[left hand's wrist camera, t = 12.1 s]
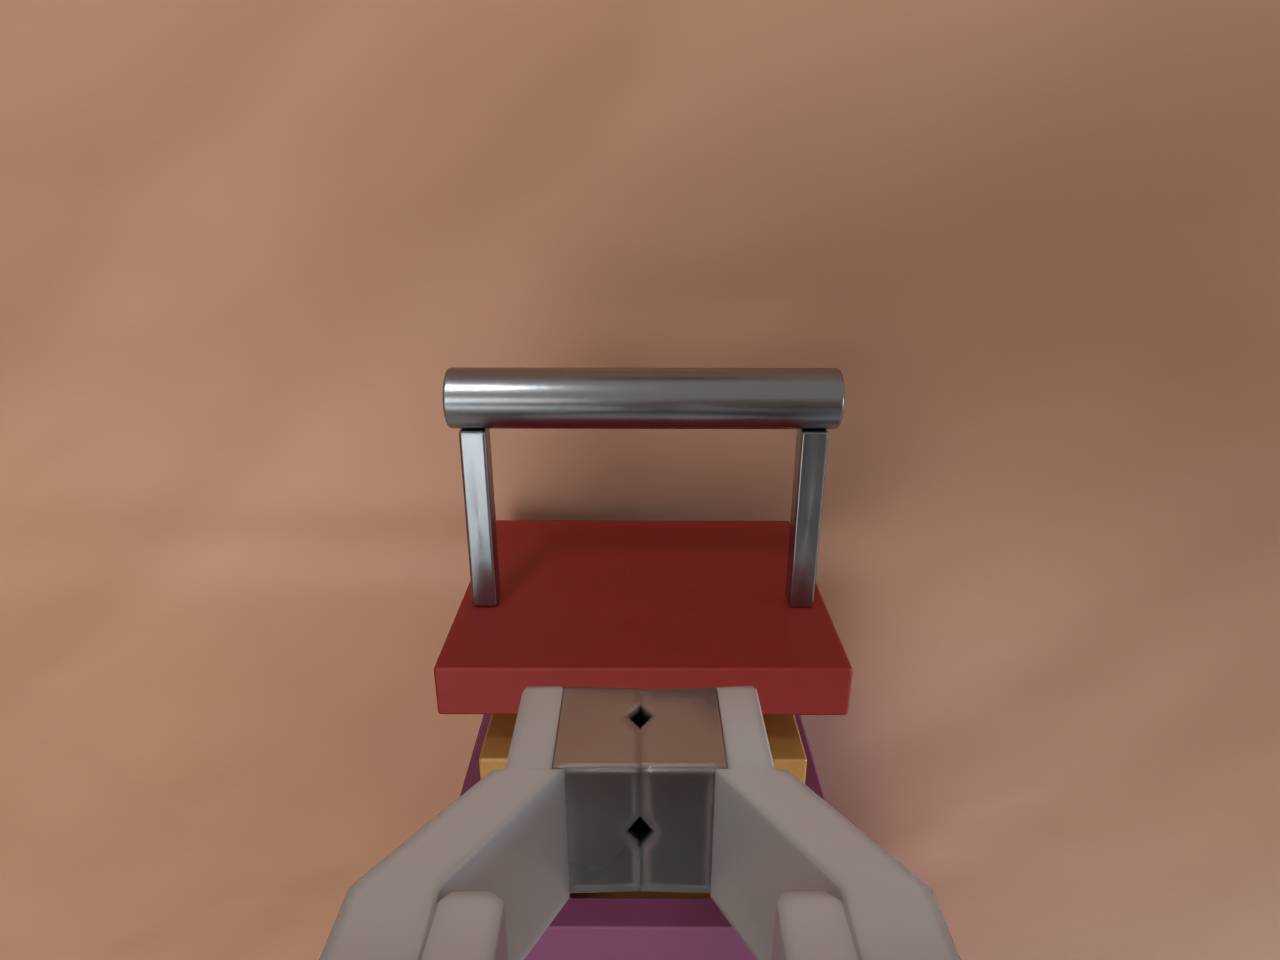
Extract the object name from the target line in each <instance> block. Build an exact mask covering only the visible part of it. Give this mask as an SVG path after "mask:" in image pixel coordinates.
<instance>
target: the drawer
mask: <svg viewBox="0 0 1280 960" xmlns="http://www.w3.org/2000/svg"><path fill="white" fill-rule="evenodd" d="M844 403H845V389H844V380H843V376H842V373H841V371H840V370H839V369H837V368H449V369H448V370H447V371H446V374H445V377H444V383H443V409H444V415H445V419H446V422H447V425H448V426H449V427H450V428H461V430H460V432H459V441H460V453H461V465H462V478H463V490H464V502H465V515H466V527H467V539H468V552H469V564H470V576H471V581H470V584H469V586H468V588H467V591H466V593H465V596H464V598H463V600H462V603H461V605H460V608H459V610H458V612H457V615H456V617H455V620H454V622H453V624H452V627H451V629H450V632H449V634H448V636H447V639H446V641H445V643H444V646H443V648H442V651H441V653H440V655H439V658H438V660H437V663H436V665H435V668H434V676H435V685H436V695H437V704H438V712H439V713H440V714H491V717H490V721H489V725H488V728H487V732H486V736H485V739H484V743H483V746H482V750H481V754H480V757H479V767H480V779H482V778H484V777H485V776H486V775H487V774H488V773H490V772H491V771H492V770H493V769H505V767H506V763H507V758H508V754H509V750H510V745H511V741H512V736H513V732H514V728H515V723H516V719H517V714H518V710H519V706H520V701H521V697H522V692H523V691H524V690H525V688H526V687H527V686H562V687H564V688H565V687H613V688H640V689H677V688H716V687H733V686H753V687H754V688H755V689H756V690H757V693H758V698H759V702H760V706H761V711H762V715H763V719H764V724H765V728H766V732H767V737H768V741H769V745H770V750H771V754H772V758H773V763H774V767H775V769H787V770H788V771H789V772H790V773H792V774H793V775H794V776H795V777H797V778H798V779H799V780H800V781H801V782H803V783H804V784H805V778H806V767H807V758H806V755H805V751H804V747H803V744H802V740H801V737H800V733H799V730H798V726H797V723H796V719H795V716H794V715H846V714H847V713H848V708H849V699H850V689H851V680H852V671H853V670H852V667H851V665H850V662H849V660H848V658H847V655H846V653H845V651H844V648H843V646H842V644H841V641H840V639H839V637H838V634H837V632H836V629H835V627H834V625H833V622H832V620H831V618H830V615H829V613H828V611H827V608H826V606H825V604H824V601H823V599H822V597H821V594H820V592H819V589H818V587H817V585H816V582H815V581H816V570H817V558H818V547H819V535H820V524H821V512H822V501H823V490H824V478H825V467H826V455H827V444H828V431H827V430H826V429H836V428H838V427H839V426H840V423H841V421H842V417H843V412H844ZM490 428H504V429H797V440H796V453H795V467H794V481H793V494H792V508H791V522H789V521H496V518H495V503H494V488H493V473H492V458H491V443H490ZM569 894H570V898H711V897H710V895H711V893H683V892H648V891H630V892H596V893H569Z"/></svg>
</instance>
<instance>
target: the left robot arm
mask: <svg viewBox="0 0 1280 960" xmlns="http://www.w3.org/2000/svg"><path fill="white" fill-rule="evenodd" d="M630 891H648V892H683V893H711V895H710V897H711V898H712V900H713V901H714V902H715V904H716V905H717V906H718V908H719V909H720V911H721V912H722V913H723V915H724V916H725V917H726V919H727V920H728V922H729V923H730V924H731V926H732V927H733V928H734V930H735V931H736V933H737V934H738V935H739V937H740V938H741V939H742V941H743V942H744V944H745V945H746V946H747V948H748V949H749V950H750V952H751V953H752V955H753V956H754V957H755V959H756V960H961V959H960V957H959V954H958V952H957V950H956V947H955V945H954V942H953V940H952V937H951V935H950V932H949V930H948V927H947V925H946V922H945V920H944V918H943V915H942V913H941V910H940V908H939V905H938V903H937V900H936V898H935V895H934V893H933V890H932V889H931V888H930V887H929V886H928V885H926V884H925V883H924V882H923V881H922V880H920V879H919V878H918V877H917V876H915V875H914V874H913V873H912V872H911V871H909V870H908V869H907V868H906V867H905V866H903V865H902V864H901V863H900V862H898V861H897V860H896V859H895V858H894V857H892V856H891V855H890V854H889V853H888V852H886V851H885V850H884V849H883V848H881V847H880V846H879V845H878V844H877V843H875V842H874V841H873V840H872V839H871V838H869V837H868V836H867V835H866V834H864V833H863V832H862V831H861V830H860V829H858V828H857V827H856V826H855V825H854V824H852V823H851V822H850V821H849V820H847V819H846V818H845V817H844V816H843V815H841V814H840V813H839V812H838V811H837V810H835V809H834V808H833V807H832V806H831V805H829V804H828V803H827V802H826V801H824V800H823V799H822V798H821V797H820V796H818V795H817V794H816V793H815V792H814V791H812V790H811V789H810V788H809V787H807V786H806V785H805V784H804V783H803V782H801V781H800V780H799V779H798V778H797V777H795V776H794V775H793V774H792V773H790V772H789V771H788V770H787V769H775V767H774V763H773V758H772V754H771V750H770V745H769V741H768V737H767V732H766V728H765V724H764V719H763V715H762V711H761V706H760V702H759V698H758V693H757V690H756V689H755V688H754V687H753V686H733V687H716V688H677V689H640V688H613V687H565V688H564V687H562V686H527V687H526V688H525V690H524V691H523V692H522V697H521V701H520V706H519V710H518V714H517V719H516V723H515V728H514V732H513V736H512V741H511V745H510V750H509V754H508V758H507V763H506V767H505V769H493V770H492V771H491V772H490V773H488V774H487V775H486V776H485V777H484V778H482V779H481V780H480V781H479V782H477V783H476V784H475V785H474V786H473V787H471V788H470V789H469V790H468V791H466V792H465V793H464V794H463V795H462V796H460V797H459V798H458V799H457V800H455V801H454V802H453V803H452V804H451V805H449V806H448V807H447V808H446V809H444V810H443V811H442V812H441V813H440V814H438V815H437V816H436V817H435V818H433V819H432V820H431V821H430V822H429V823H427V824H426V825H425V826H424V827H423V828H421V829H420V830H419V831H418V832H416V833H415V834H414V835H413V836H412V837H410V838H409V839H408V840H407V841H405V842H404V843H403V844H402V845H401V846H399V847H398V848H397V849H396V850H394V851H393V852H392V853H391V854H390V855H388V856H387V857H386V858H385V859H383V860H382V861H381V862H380V863H379V864H377V865H376V866H375V867H374V868H373V869H371V870H370V871H369V872H368V873H366V874H365V875H364V876H363V877H362V878H360V879H359V880H358V881H357V882H355V883H354V884H353V885H352V886H351V887H349V889H348V892H347V894H346V896H345V899H344V901H343V904H342V906H341V909H340V911H339V913H338V916H337V918H336V921H335V923H334V925H333V928H332V930H331V933H330V935H329V938H328V940H327V942H326V945H325V947H324V950H323V952H322V955H321V957H320V959H319V960H524V959H525V958H526V957H527V955H528V954H529V952H530V951H531V950H532V948H533V947H534V946H535V944H536V943H537V941H538V940H539V939H540V937H541V936H542V935H543V933H544V932H545V931H546V929H547V928H548V926H549V925H550V924H551V922H552V921H553V920H554V918H555V917H556V915H557V914H558V913H559V911H560V910H561V909H562V907H563V906H564V905H565V903H566V902H567V900H568V899H569V898H570V894H569V893H596V892H630Z"/></svg>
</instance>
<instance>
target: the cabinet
mask: <svg viewBox="0 0 1280 960" xmlns="http://www.w3.org/2000/svg"><path fill="white" fill-rule="evenodd" d="M794 716H795V719H796V723H797V726H798V730H799V733H800V737H801V740H802V744H803V747H804V751H805V755H806V758H807V767H806V778H805V785H806V786H807V787H809V788H810V789H811V790H812V791H814V792H815V793H816V794H817V795H818V796H820V797H821V798H822V799H823V800H824V801H825V797H824V794H823V790H822V787H821V783H820V780H819V777H818V773H817V770H816V766H815V763H814V760H813V756H812V753H811V749H810V746H809V743H808V739H807V736H806V732H805V729H804V726H803V722H802V719H801V715H794ZM490 717H491V714H484V716H483V719H482V723H481V726H480V729H479V733H478V736H477V740H476V743H475V747H474V750H473V754H472V757H471V760H470V764H469V767H468V771H467V774H466V778H465V781H464V785H463V788H462V791H461V795H460V796H462V795H463V794H464V793H465V792H466V791H468V790H469V789H470V788H471V787H473V786H474V785H475V784H476V783H477V782H479V781H480V780H481V779H480V767H479V757H480V754H481V750H482V746H483V743H484V739H485V736H486V732H487V728H488V725H489V721H490ZM524 960H756V959H755V957H754V956H753V955H752V953H751V952H750V950H749V949H748V948H747V946H746V945H745V944H744V942H743V941H742V939H741V938H740V937H739V935H738V934H737V933H736V931H735V930H734V928H733V927H732V926H731V924H730V923H729V922H728V920H727V919H726V917H725V916H724V915H723V913H722V912H721V911H720V909H719V908H718V906H717V905H716V904H715V902H714V901H713V900H712V898H569V899H568V900H567V902H566V903H565V905H564V906H563V907H562V909H561V910H560V911H559V913H558V914H557V915H556V917H555V918H554V920H553V921H552V922H551V924H550V925H549V926H548V928H547V929H546V931H545V932H544V933H543V935H542V936H541V937H540V939H539V940H538V941H537V943H536V944H535V946H534V947H533V948H532V950H531V951H530V952H529V954H528V955H527V957H526V958H525V959H524Z"/></svg>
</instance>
